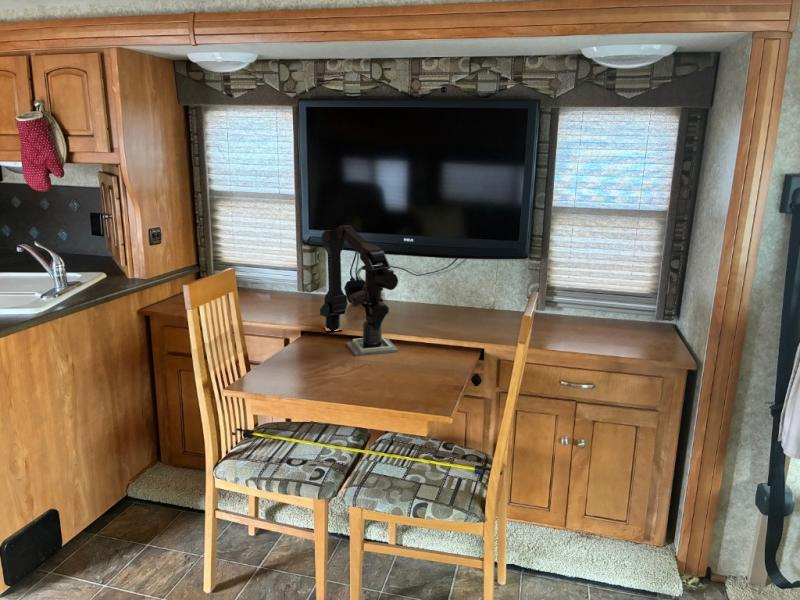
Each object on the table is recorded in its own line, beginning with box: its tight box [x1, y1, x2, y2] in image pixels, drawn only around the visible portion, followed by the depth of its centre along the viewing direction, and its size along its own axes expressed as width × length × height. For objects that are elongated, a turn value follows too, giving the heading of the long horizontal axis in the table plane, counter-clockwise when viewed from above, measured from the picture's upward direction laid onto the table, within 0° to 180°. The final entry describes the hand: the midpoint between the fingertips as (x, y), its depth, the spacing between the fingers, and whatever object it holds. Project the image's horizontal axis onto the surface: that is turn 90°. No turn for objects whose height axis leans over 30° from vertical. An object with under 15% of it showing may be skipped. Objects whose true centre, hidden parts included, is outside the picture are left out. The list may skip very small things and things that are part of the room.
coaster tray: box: [346, 336, 399, 357], centre depth 221 cm, size 12×16×2 cm
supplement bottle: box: [362, 313, 383, 348], centre depth 219 cm, size 7×7×12 cm
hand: (372, 325), depth 219 cm, fingers open, 9 cm apart
